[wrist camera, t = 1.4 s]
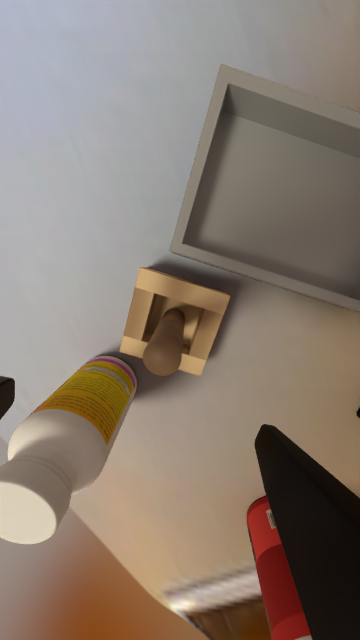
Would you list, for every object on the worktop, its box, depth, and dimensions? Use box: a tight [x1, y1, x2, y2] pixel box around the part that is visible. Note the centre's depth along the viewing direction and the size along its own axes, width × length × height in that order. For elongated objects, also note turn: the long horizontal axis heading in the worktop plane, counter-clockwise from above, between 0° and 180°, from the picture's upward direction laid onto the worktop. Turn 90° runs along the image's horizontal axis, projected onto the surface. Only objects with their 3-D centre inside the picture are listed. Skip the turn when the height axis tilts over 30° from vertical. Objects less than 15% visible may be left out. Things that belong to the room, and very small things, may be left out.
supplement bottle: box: [0, 356, 137, 544], centre depth 16 cm, size 7×7×13 cm
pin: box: [143, 308, 185, 376], centre depth 15 cm, size 2×2×9 cm
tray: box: [169, 64, 360, 312], centre depth 16 cm, size 18×12×3 cm, turn 73°
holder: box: [119, 267, 231, 376], centre depth 19 cm, size 8×8×3 cm
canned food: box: [247, 496, 312, 640], centre depth 22 cm, size 8×8×11 cm
